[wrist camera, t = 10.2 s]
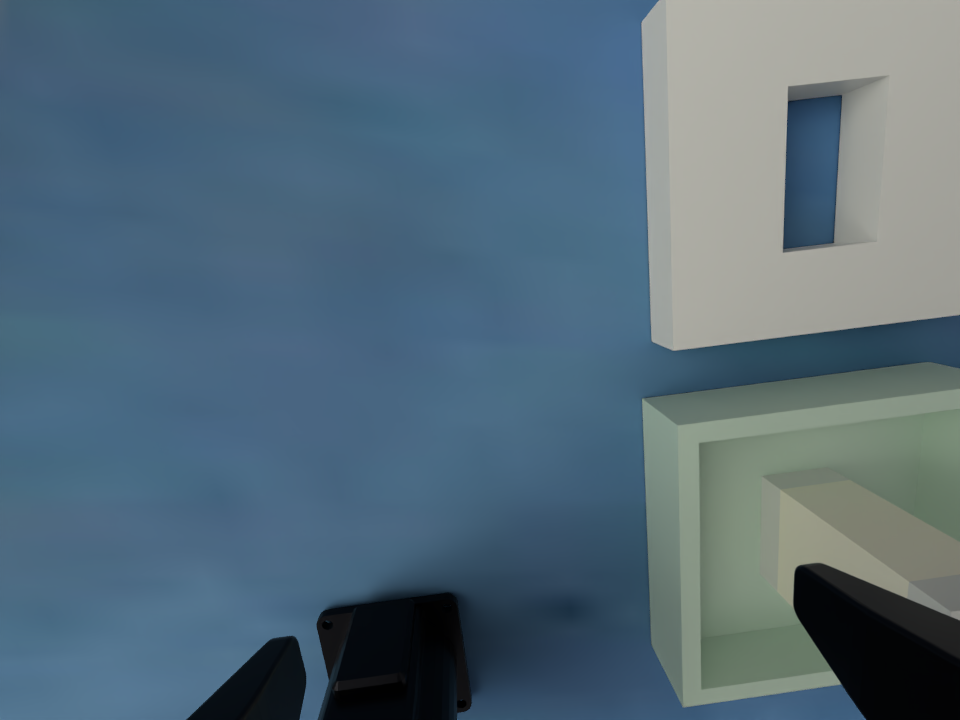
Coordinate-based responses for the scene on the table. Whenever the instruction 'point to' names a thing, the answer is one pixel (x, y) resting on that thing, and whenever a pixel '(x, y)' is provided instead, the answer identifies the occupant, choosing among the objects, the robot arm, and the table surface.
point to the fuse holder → (762, 159)
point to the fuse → (854, 539)
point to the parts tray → (737, 509)
